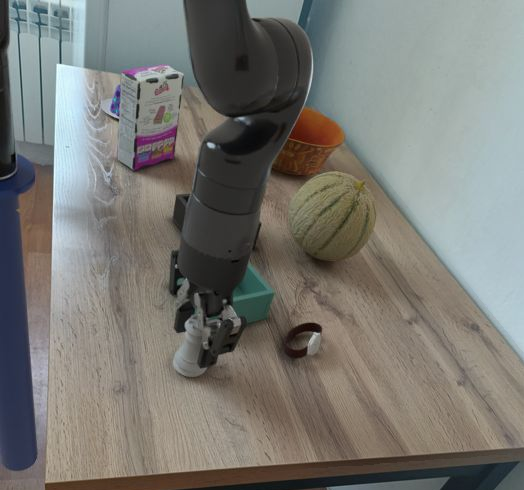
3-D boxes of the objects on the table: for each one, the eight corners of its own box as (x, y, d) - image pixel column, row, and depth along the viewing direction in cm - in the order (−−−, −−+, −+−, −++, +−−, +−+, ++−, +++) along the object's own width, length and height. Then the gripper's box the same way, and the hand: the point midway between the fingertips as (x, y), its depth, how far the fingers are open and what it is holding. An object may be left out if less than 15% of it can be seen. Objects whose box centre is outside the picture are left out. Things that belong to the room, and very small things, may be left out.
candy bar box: (156, 148, 110) (166, 63, 98) (174, 159, 108) (186, 74, 97) (114, 159, 102) (119, 69, 91) (133, 171, 101) (140, 81, 89)
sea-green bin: (204, 334, 74) (210, 306, 71) (170, 286, 80) (175, 258, 76) (266, 318, 80) (275, 292, 77) (231, 275, 85) (237, 248, 82)
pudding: (138, 99, 124) (140, 76, 121) (166, 123, 119) (169, 99, 115) (90, 102, 117) (90, 76, 114) (117, 127, 112) (119, 102, 108)
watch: (301, 369, 74) (309, 350, 72) (273, 351, 75) (280, 332, 73) (326, 342, 80) (334, 324, 77) (299, 325, 81) (306, 307, 78)
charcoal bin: (200, 257, 87) (206, 230, 83) (172, 220, 92) (175, 194, 89) (254, 248, 92) (262, 223, 89) (224, 214, 98) (230, 189, 94)
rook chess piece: (196, 350, 72) (206, 305, 66) (212, 373, 70) (224, 328, 64) (166, 358, 69) (174, 312, 64) (182, 383, 67) (192, 337, 62)
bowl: (290, 138, 130) (302, 96, 123) (349, 183, 120) (365, 141, 113) (220, 144, 118) (229, 98, 111) (278, 195, 108) (292, 148, 101)
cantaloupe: (269, 227, 99) (291, 149, 88) (338, 230, 104) (367, 157, 94) (296, 278, 89) (324, 198, 79) (371, 278, 95) (406, 203, 85)
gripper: (156, 199, 57) (141, 316, 69) (221, 282, 50) (193, 397, 62) (216, 194, 61) (193, 305, 73) (285, 270, 54) (248, 380, 65)
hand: (193, 347), depth 67 cm, fingers open, 5 cm apart
